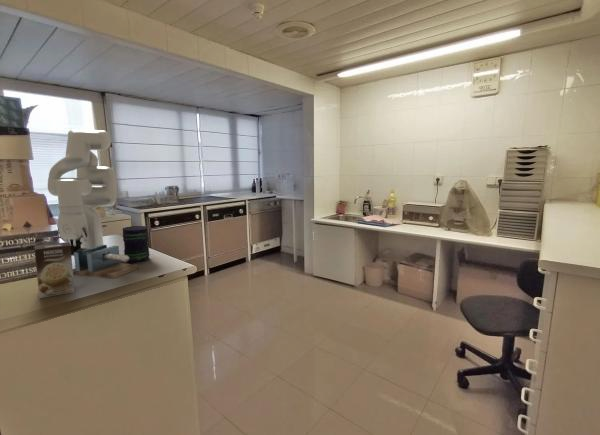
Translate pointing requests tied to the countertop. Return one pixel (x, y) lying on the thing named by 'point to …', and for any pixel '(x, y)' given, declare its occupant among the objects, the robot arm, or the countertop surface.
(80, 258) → the bearing blocks
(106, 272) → the base plate
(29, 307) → the countertop surface
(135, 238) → the storage jar
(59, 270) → the coffee box
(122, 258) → the shaft
